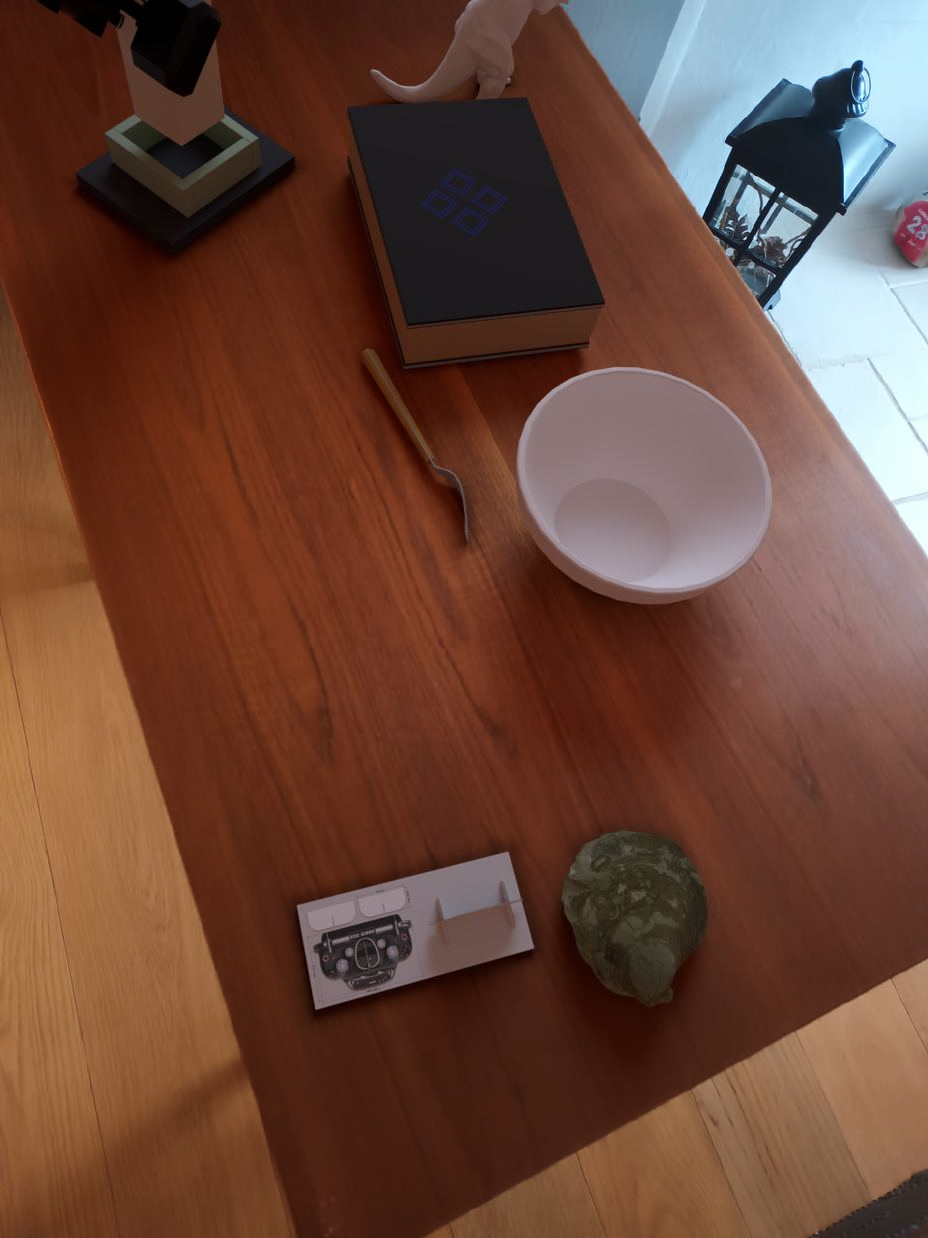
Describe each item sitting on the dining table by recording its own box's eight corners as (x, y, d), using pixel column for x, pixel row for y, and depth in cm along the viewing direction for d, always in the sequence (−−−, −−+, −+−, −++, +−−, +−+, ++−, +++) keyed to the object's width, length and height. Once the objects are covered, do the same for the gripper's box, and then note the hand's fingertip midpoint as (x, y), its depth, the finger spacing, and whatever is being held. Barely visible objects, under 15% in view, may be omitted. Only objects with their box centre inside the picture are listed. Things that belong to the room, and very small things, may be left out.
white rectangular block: (181, 146, 75) (152, -24, 63) (134, 115, 75) (96, -59, 63) (225, 117, 77) (205, -53, 65) (179, 88, 78) (150, -86, 66)
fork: (352, 348, 75) (464, 532, 69) (371, 338, 75) (484, 521, 69) (359, 365, 77) (467, 544, 71) (377, 355, 77) (487, 533, 71)
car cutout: (507, 852, 62) (519, 843, 58) (533, 948, 60) (547, 946, 56) (296, 905, 59) (293, 900, 55) (315, 1010, 56) (313, 1012, 52)
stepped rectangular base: (174, 255, 78) (165, 217, 74) (78, 183, 80) (65, 143, 76) (295, 166, 84) (293, 127, 80) (204, 101, 86) (198, 60, 82)
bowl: (552, 674, 67) (583, 629, 59) (460, 467, 74) (476, 398, 65) (762, 601, 72) (820, 549, 64) (660, 413, 79) (700, 342, 70)
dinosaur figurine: (539, 57, 95) (572, -96, 81) (569, 119, 92) (608, -30, 78) (361, 73, 90) (365, -87, 77) (386, 139, 87) (395, -16, 74)
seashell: (685, 814, 63) (736, 909, 54) (692, 894, 66) (741, 997, 56) (546, 840, 63) (573, 940, 53) (559, 919, 66) (586, 1027, 56)
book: (514, 156, 89) (527, 95, 83) (586, 353, 80) (606, 301, 74) (346, 168, 85) (347, 105, 79) (402, 375, 76) (407, 323, 70)
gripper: (178, -128, 52) (309, -11, 66) (-38, -273, 55) (133, -131, 69) (108, 59, 56) (246, 131, 70) (-89, -84, 59) (82, 13, 73)
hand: (177, 33), depth 71 cm, fingers closed on white rectangular block, 5 cm apart
